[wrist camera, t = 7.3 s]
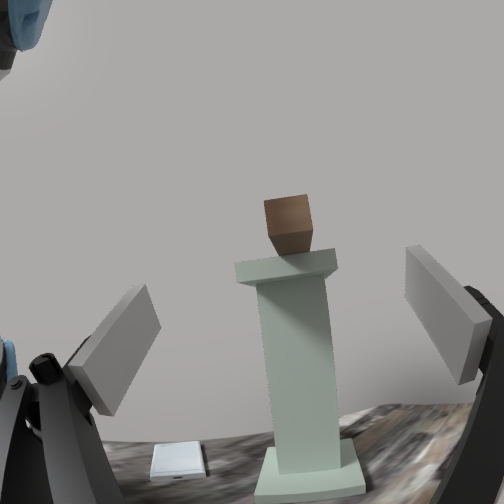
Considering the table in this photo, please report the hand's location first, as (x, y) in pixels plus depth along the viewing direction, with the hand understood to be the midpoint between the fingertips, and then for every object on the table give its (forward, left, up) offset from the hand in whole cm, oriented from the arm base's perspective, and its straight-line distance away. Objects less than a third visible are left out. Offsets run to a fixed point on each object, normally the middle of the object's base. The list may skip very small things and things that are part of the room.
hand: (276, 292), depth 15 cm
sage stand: (+8, +22, -25) cm, 34 cm away
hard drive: (-10, +33, -26) cm, 43 cm away
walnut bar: (+7, +16, +4) cm, 18 cm away
